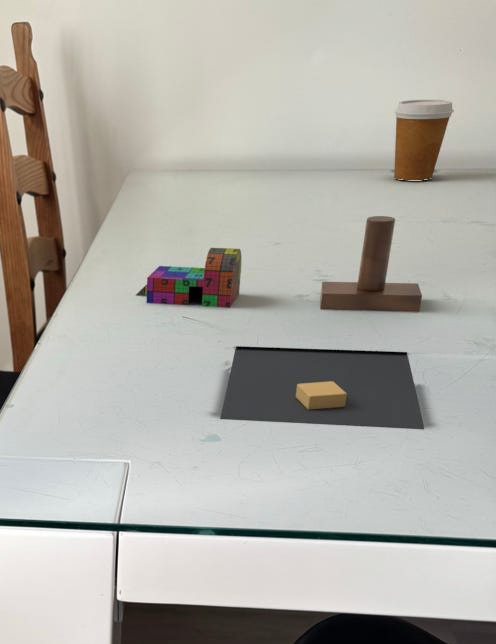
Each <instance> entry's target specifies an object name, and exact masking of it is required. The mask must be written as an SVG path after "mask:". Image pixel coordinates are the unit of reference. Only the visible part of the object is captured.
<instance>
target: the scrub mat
mask: <svg viewBox="0 0 496 644" xmlns="http://www.w3.org/2000/svg"><path fill="white" fill-rule="evenodd" d="M228 377H229V378H228V381H227V385H226V389H225V393H224V398H223V399H224V400H223V403H222V409H221V413H220V418H219V419H220V420H227V421H229V420H231V421H249V422H250V421H251V422H269V423H287V424H289V423H290V424H307V425H309V424H310V425H311V424H312V425H326V426H329V425H330V426H350V427H367V428H369V427H370V428H386V429H387V428H388V429H389V428H390V429H406V430H425V427H424V423H423V417H422V413H421V409H420V405H419V401H418V396H417V391H416V387H415V383H414V379H413V374H412V369H411V365H410V361H409V356H408V352H407V351H391V350H389V351H387V350H386V351H385V350H359V349H358V350H357V349H329V348H328V349H327V348H304V347H303V348H299V347H298V348H297V347H275V346H274V347H273V346H272V347H270V346H242V345H241V346H240V345H236V346H235V349H234V354H233V358H232V362H231V367H230V372H229V376H228ZM329 381H333V382H334V383H336V384H337V385H338V386H339V387H340V388H341V389H342V390H343V391H344V392H346V393H347V396H346V403H345V407H336V408H323V409H310V410H308V409H307V408H306V407H305V406H304V405H303V404H302V403H301V402H300V401H299V400H298V399H297V398H296V390H297V384H303V383H316V382H329Z"/></svg>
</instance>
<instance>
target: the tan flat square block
mask: <svg viewBox="0 0 496 644" xmlns="http://www.w3.org/2000/svg"><path fill="white" fill-rule="evenodd" d="M346 396H347V393H346V392H344V391H343V390H342V389H341V388H340V387H339V386H338V385H337V384H336V383H334V382H333V381H329V382H316V383H303V384H297V390H296V398H297V399H298V400H299V401H300V402H301V403H302V404H303V405H304V406H305V407H306V408H307V409H308V410H310V409H323V408H336V407H345V403H346Z"/></svg>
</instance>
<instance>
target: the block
mask: <svg viewBox="0 0 496 644" xmlns="http://www.w3.org/2000/svg"><path fill="white" fill-rule="evenodd" d="M241 273H242V250H241V248H230V247H228V248H227V247H210V248H209V250H208V251H207V255H206V259H205V263H204V267H193V266H192V267H189V266H172V265H171V266H170V265H159V266H158V267H156V268H155V270H154V271H152V272H151V273H150V274H149V275H148V276H147V277H146V284H145V285H144V286H143V287H142V288H141V289H140V290H139V291H138V292H137V293H136V294H135V296H137V297H138V296H139V297H146V304H159V305H178V306H189V305H190V293H191V292H190V291H191V288H195V289H198V293H200V294H201V293H202V297H201V307H213V308H229V309H230V308H231V307H232V306H233V304H234V303H235V301H236V299H237V298H238V297H239V295H240V290H241V289H240V287H241V275H242V274H241Z"/></svg>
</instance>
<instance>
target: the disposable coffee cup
mask: <svg viewBox="0 0 496 644" xmlns="http://www.w3.org/2000/svg"><path fill="white" fill-rule="evenodd" d="M394 113H395V115H394V116H395V119H396V120H395V121H396V122H395V141H394V143H395V144H394V145H395V146H394V147H395V148H394V169H393V170H394V175H393V179H394V178H397V179H403V180H424V179H430V178H432V179H433V176H434V173H435V168H436V165H437V162H438V158H439V155H440V151H441V148H442V144H443V141H444V137H445V135H446V131H447V128H448V125H449V120H450V117H452V115H453V113H454V109H453V101H451V100H445V99H408V100H402V101H399V102H398V104H397V107H396V109H395V110H394Z"/></svg>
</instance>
